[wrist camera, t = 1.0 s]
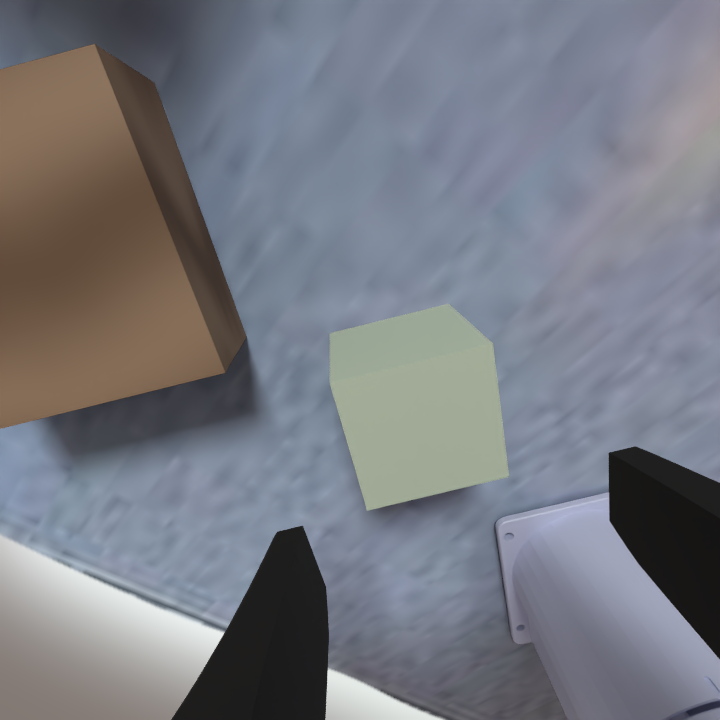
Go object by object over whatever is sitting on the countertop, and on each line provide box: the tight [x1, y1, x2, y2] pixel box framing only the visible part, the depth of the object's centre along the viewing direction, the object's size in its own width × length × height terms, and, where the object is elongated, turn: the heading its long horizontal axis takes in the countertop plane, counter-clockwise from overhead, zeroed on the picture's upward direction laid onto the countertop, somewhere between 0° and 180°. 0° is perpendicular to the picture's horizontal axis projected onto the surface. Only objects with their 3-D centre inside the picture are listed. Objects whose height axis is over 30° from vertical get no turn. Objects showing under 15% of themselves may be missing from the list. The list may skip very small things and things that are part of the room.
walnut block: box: [0, 44, 246, 429], centre depth 14 cm, size 9×9×4 cm
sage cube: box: [330, 304, 509, 511], centre depth 16 cm, size 5×5×5 cm
